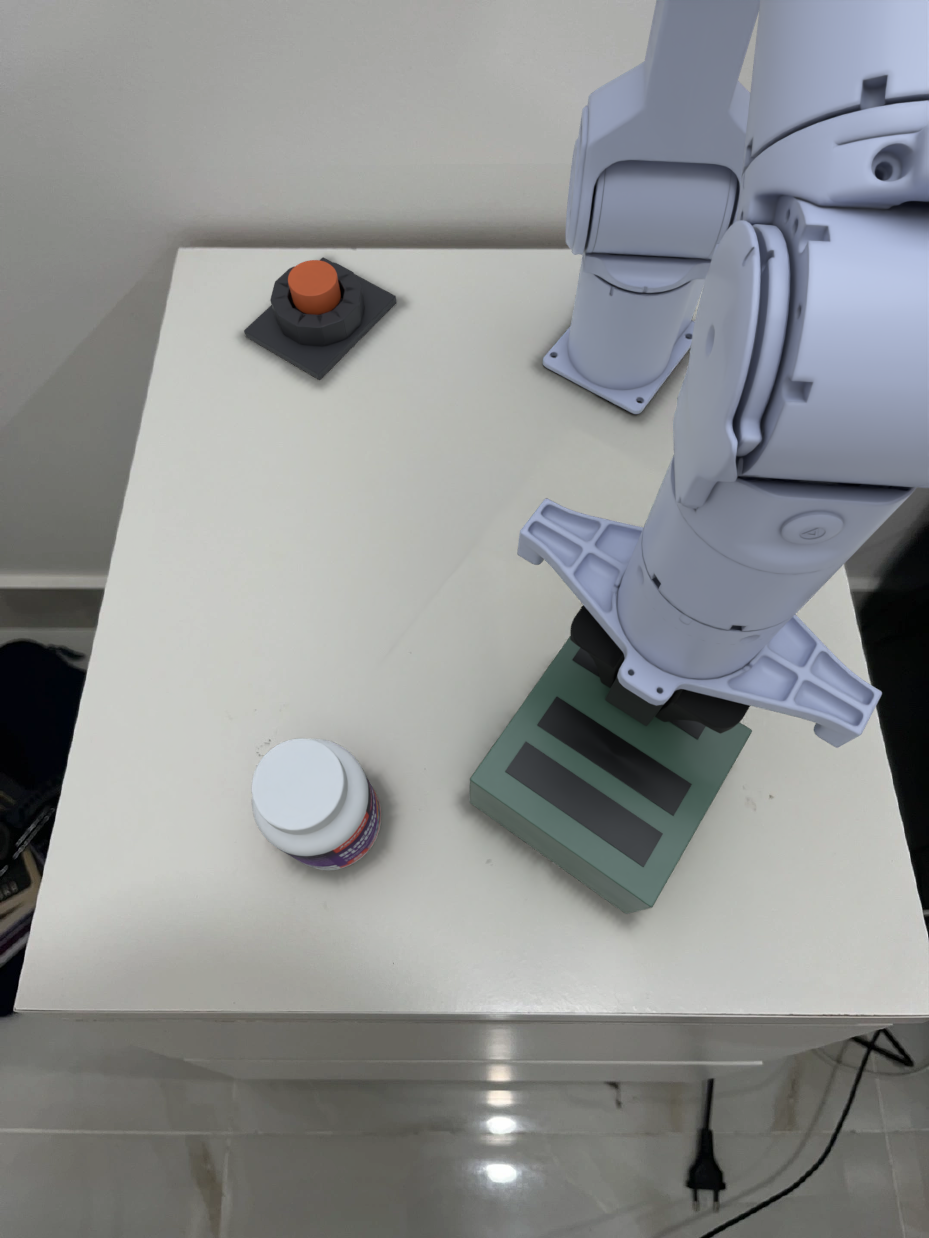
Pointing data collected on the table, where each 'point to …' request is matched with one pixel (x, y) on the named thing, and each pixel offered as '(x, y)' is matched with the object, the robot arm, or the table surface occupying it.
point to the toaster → (602, 782)
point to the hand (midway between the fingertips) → (641, 686)
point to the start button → (314, 287)
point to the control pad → (319, 323)
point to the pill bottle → (315, 803)
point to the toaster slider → (631, 703)
